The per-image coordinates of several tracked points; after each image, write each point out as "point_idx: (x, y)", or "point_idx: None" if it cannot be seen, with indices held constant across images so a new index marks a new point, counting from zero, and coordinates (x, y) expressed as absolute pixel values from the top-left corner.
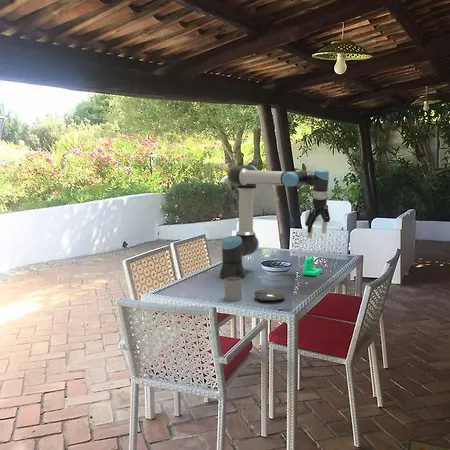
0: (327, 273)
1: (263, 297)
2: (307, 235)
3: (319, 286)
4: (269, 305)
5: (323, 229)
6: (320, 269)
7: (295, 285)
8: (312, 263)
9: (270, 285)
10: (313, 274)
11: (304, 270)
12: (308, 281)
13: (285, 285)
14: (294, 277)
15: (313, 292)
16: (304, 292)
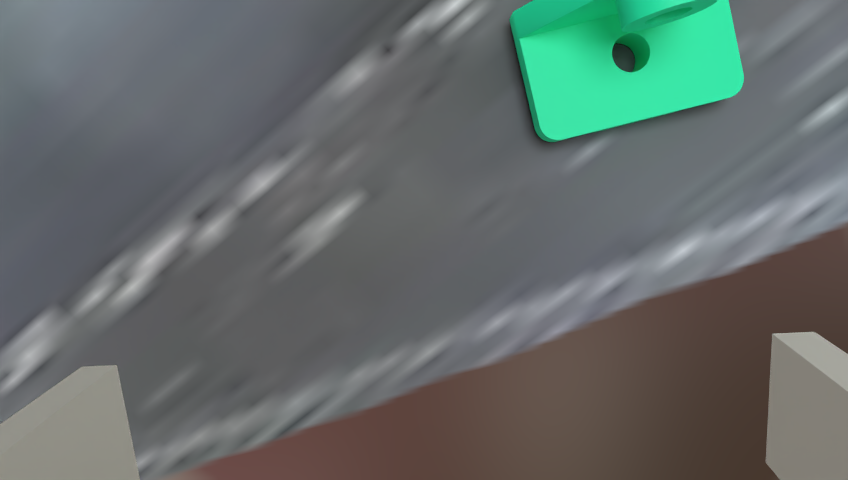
0: (741, 142)
1: None
2: (41, 401)
3: (312, 380)
4: None
5: (833, 451)
6: (716, 86)
7: (190, 214)
8: (671, 20)
9: (27, 54)
10: (540, 134)
11: (528, 26)
12: (377, 206)
13: (126, 151)
14: (401, 14)
15: None
16: None
